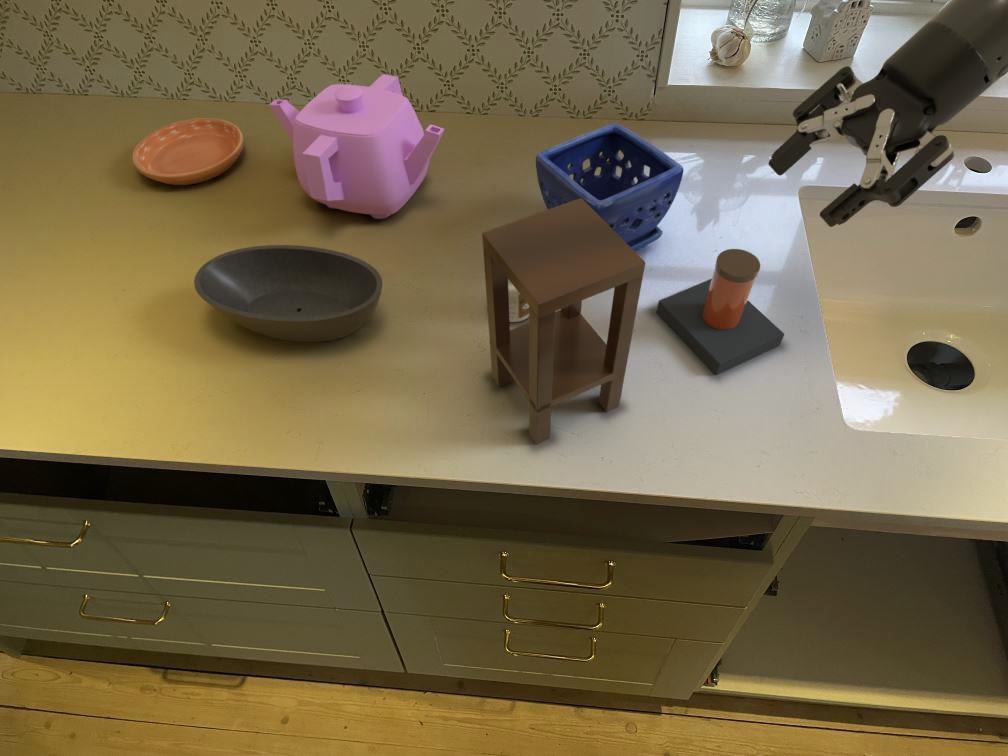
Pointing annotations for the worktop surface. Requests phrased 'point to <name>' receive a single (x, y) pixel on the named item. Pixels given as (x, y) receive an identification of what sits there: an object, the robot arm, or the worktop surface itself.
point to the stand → (560, 307)
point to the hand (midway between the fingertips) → (798, 194)
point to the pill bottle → (516, 305)
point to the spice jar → (730, 288)
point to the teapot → (359, 146)
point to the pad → (718, 330)
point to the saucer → (189, 151)
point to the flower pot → (612, 180)
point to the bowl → (291, 291)
